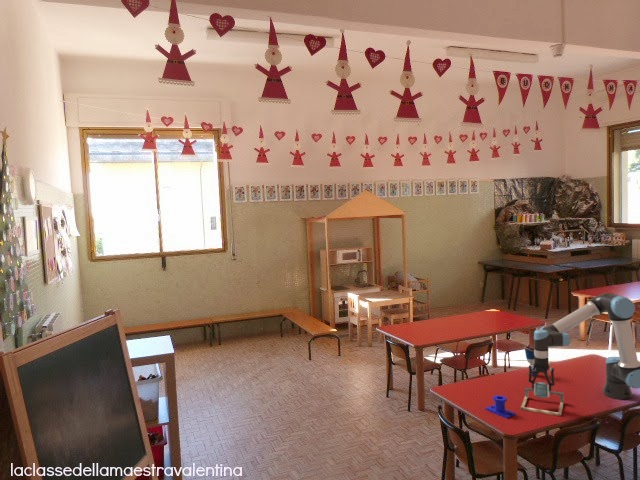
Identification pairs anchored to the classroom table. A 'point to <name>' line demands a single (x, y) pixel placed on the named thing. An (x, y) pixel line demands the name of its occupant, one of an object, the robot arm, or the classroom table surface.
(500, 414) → the mount
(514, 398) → the classroom table surface
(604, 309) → the robot arm
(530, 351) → the figurine
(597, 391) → the classroom table surface
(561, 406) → the shelf frame
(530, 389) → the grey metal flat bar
